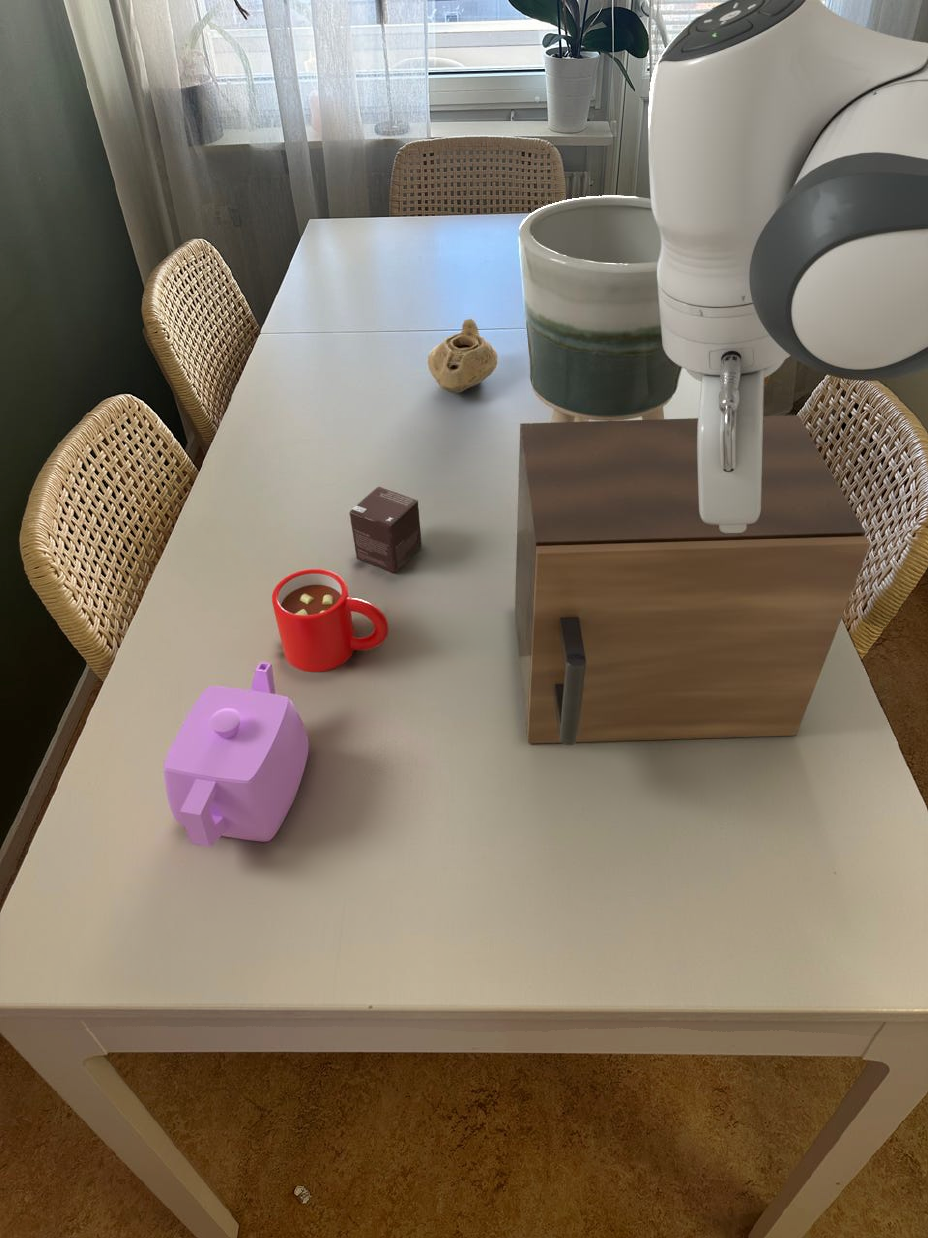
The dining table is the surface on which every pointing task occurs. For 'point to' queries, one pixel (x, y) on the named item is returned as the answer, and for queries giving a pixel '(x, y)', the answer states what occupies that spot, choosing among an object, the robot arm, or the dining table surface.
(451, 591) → the dining table surface
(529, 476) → the cupboard
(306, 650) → the mug
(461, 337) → the oil lamp
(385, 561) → the box
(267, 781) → the teapot
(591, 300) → the planter
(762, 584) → the cupboard door
